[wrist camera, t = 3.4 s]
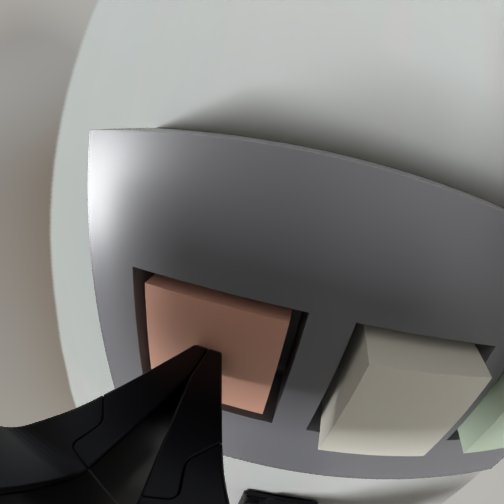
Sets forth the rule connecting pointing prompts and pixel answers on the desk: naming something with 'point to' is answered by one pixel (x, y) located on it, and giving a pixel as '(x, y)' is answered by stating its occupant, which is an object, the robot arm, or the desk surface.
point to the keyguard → (295, 271)
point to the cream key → (398, 392)
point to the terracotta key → (218, 335)
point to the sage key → (485, 422)
